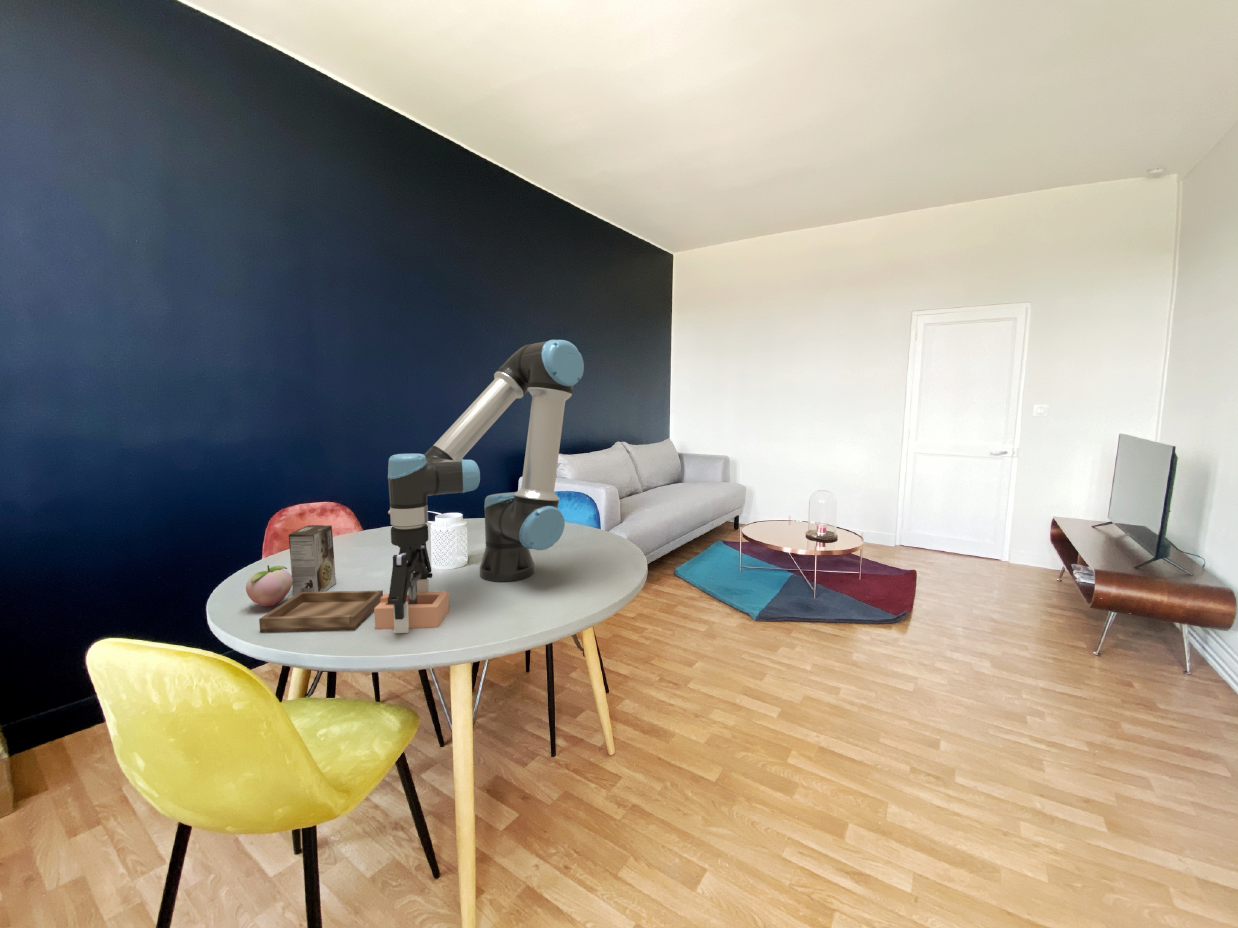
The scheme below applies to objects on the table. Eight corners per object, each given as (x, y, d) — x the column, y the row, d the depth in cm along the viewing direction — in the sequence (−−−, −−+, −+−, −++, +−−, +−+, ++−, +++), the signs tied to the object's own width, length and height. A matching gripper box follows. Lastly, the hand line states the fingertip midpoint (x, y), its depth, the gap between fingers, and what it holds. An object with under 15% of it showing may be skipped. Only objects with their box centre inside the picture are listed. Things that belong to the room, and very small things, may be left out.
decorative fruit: (267, 598, 120) (264, 558, 119) (300, 599, 120) (297, 559, 119) (237, 614, 111) (233, 571, 110) (272, 615, 111) (269, 572, 110)
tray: (383, 602, 119) (382, 590, 118) (354, 630, 104) (353, 616, 103) (301, 604, 117) (300, 592, 117) (260, 632, 102) (259, 618, 102)
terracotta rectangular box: (449, 610, 114) (448, 587, 114) (437, 627, 105) (436, 602, 105) (391, 611, 113) (390, 588, 113) (375, 628, 104) (373, 603, 104)
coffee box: (311, 584, 130) (307, 524, 128) (336, 583, 131) (333, 524, 129) (291, 597, 121) (287, 533, 119) (319, 596, 122) (314, 533, 120)
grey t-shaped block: (422, 612, 113) (421, 572, 111) (413, 625, 106) (411, 581, 105) (414, 613, 112) (412, 572, 111) (404, 625, 106) (402, 582, 105)
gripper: (411, 512, 119) (414, 597, 121) (366, 540, 94) (371, 645, 97) (443, 512, 119) (445, 596, 122) (406, 539, 95) (410, 644, 97)
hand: (413, 618), depth 109 cm, fingers open, 13 cm apart
